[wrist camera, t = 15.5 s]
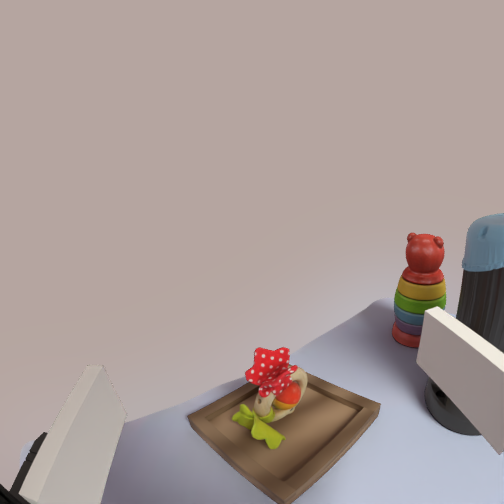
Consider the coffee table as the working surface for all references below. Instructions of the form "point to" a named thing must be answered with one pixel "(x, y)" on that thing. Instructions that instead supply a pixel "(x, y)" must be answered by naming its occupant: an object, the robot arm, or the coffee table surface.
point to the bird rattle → (272, 393)
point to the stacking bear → (418, 287)
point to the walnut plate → (287, 436)
